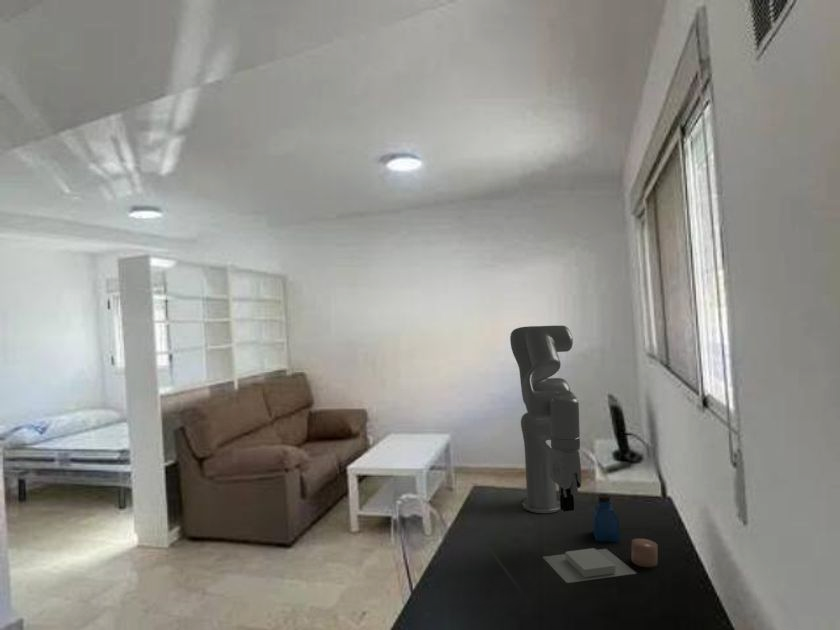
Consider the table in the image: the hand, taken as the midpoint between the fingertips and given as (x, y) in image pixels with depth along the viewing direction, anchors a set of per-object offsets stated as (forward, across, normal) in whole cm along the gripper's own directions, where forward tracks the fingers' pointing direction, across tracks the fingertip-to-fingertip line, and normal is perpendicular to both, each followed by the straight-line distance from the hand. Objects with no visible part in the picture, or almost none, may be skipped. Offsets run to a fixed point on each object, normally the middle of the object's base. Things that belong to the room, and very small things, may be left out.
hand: (567, 509), depth 141 cm
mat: (+10, +11, 0) cm, 15 cm away
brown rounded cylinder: (+10, +13, +14) cm, 22 cm away
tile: (+9, +7, 0) cm, 11 cm away
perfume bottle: (+11, -3, +13) cm, 17 cm away
